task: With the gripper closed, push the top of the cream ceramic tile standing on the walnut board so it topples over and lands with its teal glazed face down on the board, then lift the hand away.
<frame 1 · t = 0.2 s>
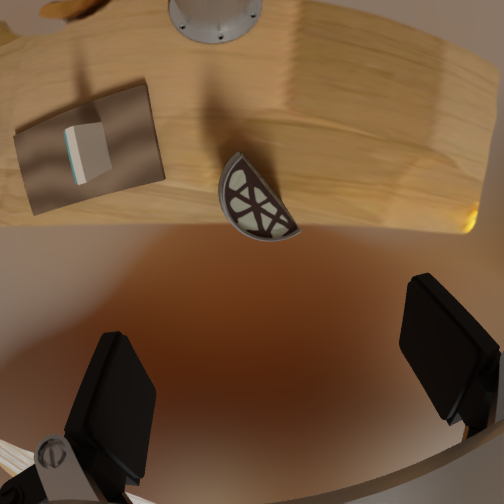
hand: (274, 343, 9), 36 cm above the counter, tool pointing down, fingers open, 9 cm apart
tile: (101, 146, 38), point 1 cm above the counter, touching board
food container: (246, 190, 44), on the counter
board: (82, 153, 39), on the counter
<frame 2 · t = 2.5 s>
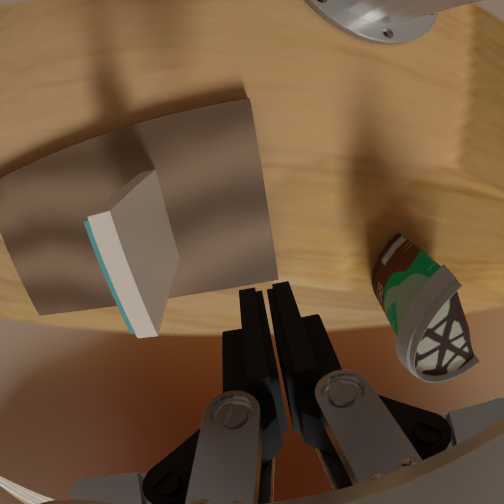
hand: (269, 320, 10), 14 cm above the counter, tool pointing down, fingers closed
tile: (157, 217, 22), point 1 cm above the counter, touching board
food container: (390, 284, 28), on the counter
board: (115, 222, 23), on the counter
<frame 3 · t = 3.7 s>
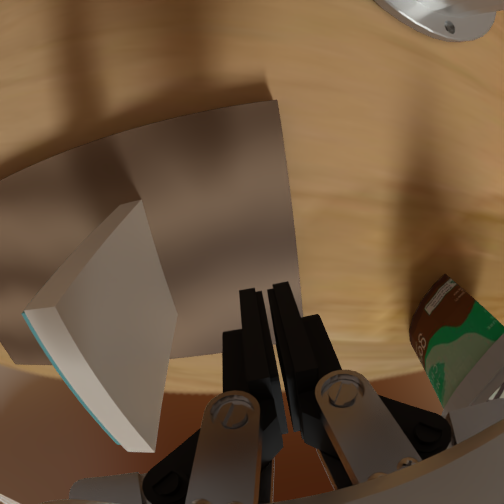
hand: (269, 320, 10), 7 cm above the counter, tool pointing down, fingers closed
tile: (146, 264, 16), point 1 cm above the counter, touching board
food container: (428, 330, 22), on the counter
board: (92, 265, 17), on the counter
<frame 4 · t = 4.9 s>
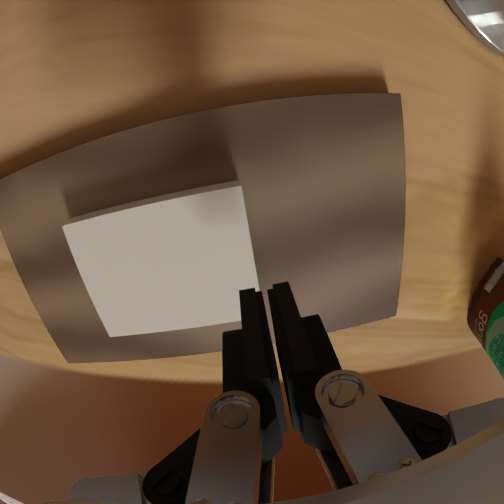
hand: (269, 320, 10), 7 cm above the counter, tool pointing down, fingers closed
tile: (252, 250, 15), point 2 cm above the counter, tilted 90°, touching board
food container: (481, 310, 22), on the counter
board: (193, 245, 17), on the counter
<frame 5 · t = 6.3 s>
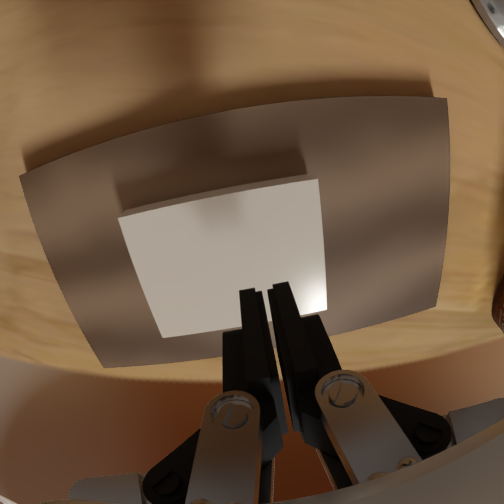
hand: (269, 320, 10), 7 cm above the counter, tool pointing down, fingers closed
tile: (319, 244, 15), point 2 cm above the counter, tilted 90°, touching board
food container: (503, 301, 22), on the counter
board: (252, 239, 17), on the counter
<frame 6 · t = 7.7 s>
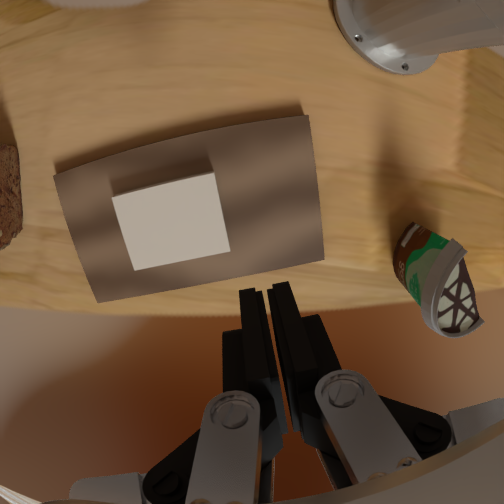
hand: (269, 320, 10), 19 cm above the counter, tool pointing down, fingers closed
tile: (222, 210, 26), point 2 cm above the counter, tilted 90°, touching board
food container: (407, 265, 33), on the counter
board: (188, 212, 28), on the counter
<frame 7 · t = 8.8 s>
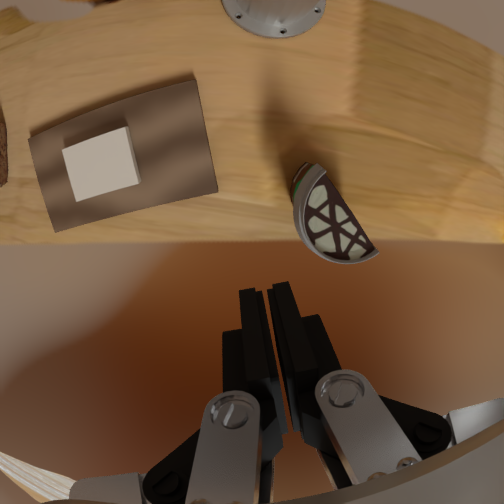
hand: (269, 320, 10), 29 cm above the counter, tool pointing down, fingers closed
tile: (133, 154, 33), point 2 cm above the counter, tilted 90°, touching board
food container: (308, 203, 40), on the counter
board: (115, 159, 35), on the counter
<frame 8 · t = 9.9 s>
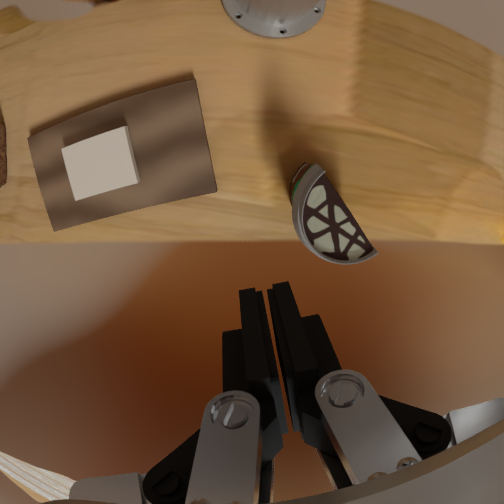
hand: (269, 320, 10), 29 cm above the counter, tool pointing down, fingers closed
tile: (132, 153, 33), point 2 cm above the counter, tilted 90°, touching board
food container: (307, 204, 39), on the counter
board: (114, 158, 35), on the counter
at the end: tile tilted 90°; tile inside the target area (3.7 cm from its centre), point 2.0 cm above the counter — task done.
